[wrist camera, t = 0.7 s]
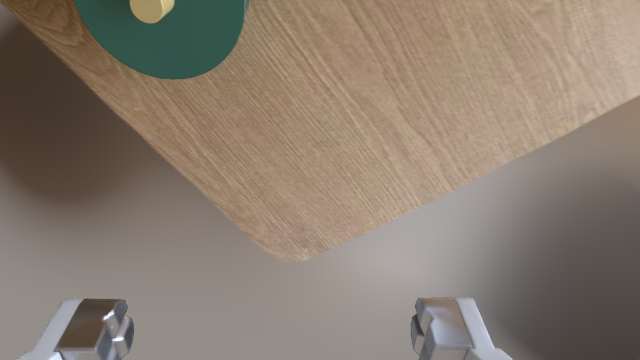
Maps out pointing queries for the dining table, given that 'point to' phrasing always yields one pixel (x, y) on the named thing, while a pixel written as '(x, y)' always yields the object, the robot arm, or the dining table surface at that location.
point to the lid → (165, 33)
